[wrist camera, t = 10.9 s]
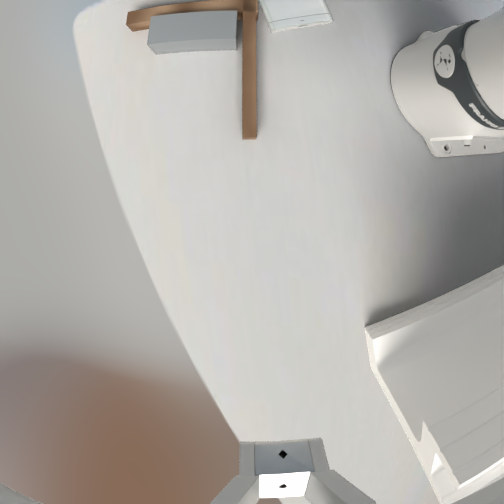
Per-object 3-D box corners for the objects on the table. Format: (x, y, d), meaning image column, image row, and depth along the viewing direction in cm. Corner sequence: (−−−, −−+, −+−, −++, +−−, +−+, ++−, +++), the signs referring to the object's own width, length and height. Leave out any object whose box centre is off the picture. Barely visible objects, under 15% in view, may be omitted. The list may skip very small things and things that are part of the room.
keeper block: (238, 24, 30) (237, 10, 27) (236, 50, 32) (235, 38, 28) (159, 29, 30) (150, 16, 26) (156, 55, 31) (147, 44, 27)
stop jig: (257, 8, 30) (257, -1, 27) (258, 139, 34) (258, 137, 32) (134, 19, 29) (127, 12, 27) (126, 146, 34) (118, 145, 32)
